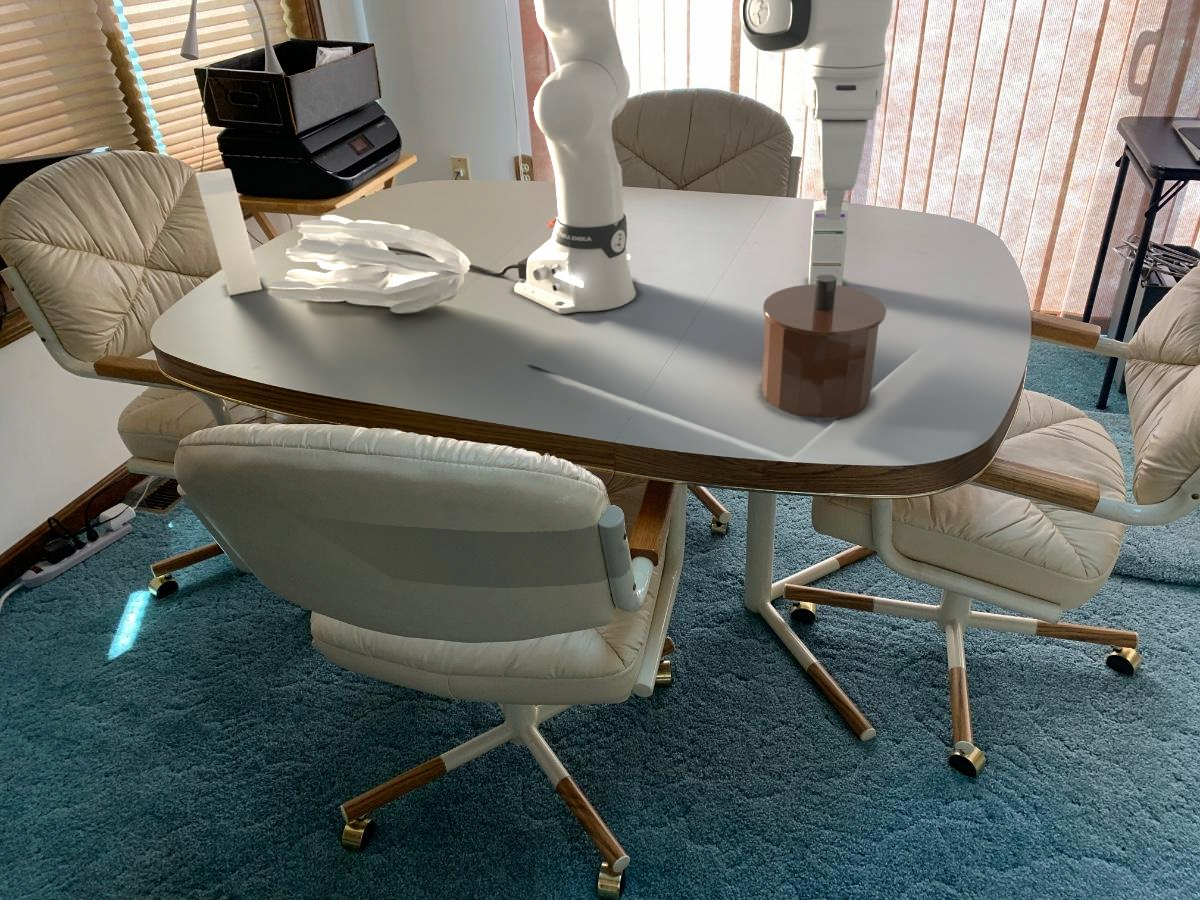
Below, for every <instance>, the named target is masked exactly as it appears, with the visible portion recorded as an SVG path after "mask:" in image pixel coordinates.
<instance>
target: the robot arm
mask: <svg viewBox="0 0 1200 900" xmlns="http://www.w3.org/2000/svg"><path fill="white" fill-rule="evenodd" d="M533 1H534V6H535V13H536V20H537V23H538V25H539V27H540V29H541V30H542V31H543V33H544V35H545V37H546V40H547V43H548V45H549V48H550V51H551V53H552V57H553V60H554V63H555V69H556V70H555V71H553V72H552V73H550V74H549V75H547V77H546V78H545V80H544V81H543V83H542V85H541V86H540V88H539V90H538V92H537V95H536V97H535V100H534V106H533V112H534V120H535V122H536V125H537V126H538V128H539V130H540V132H541V133H542V134H543V135H544V138H545V141H546V142H545V143H546V145H547V148H548V152H549V156H550V159H551V163H552V168H553V173H554V179H555V190H556V191H555V192H556V202H557V215H558V216H556V217H555V218H554V219H551V220H549V221H547V222H546V224H548V225H547V226H546V229H551V228H553V230H552V235H551V238H549V239H548V240H547V241H546V242H544V243H543V244H542V245H541V246H540V247H539V248H538V249H536V250H535V251H533V252H532V253H531V254H530V255H529V256H528V257H526V258H524V259H522V260H520V261H518V262H517V263H511V264H507V265H505V266H504V267H503V268H502V270H500V271H493V270H488V269H486V268H483V267H481V266H478V265H475V264H471V263H470V264H471V265H470V266H469V268H470V270H471V269H472V270H475V271H477V272H480V273H482V274H486V275H489V276H494V277H500V276H504V275H505V274H506V273H507V271H509V270H511V269H517V273H518V279H519V281H518V282H516V284H515V285H514V293H516V294H518V295H520V296H523V297H524V298H526V299H529V300H531V301H533V302H535V303H537V304H539V305H541V306H543V307H545V308H548V309H549V310H552V311H554V312H555V313H558V314H563V315H565V314H573V313H579V312H599V311H600V312H601V311H607V310H612V309H616V308H620V307H622V306H625V305H626V304H628V303H630V302H631V301H633V300H634V298H635V297H636V295H637V292H636V291H637V290H636V288H635V285H634V282H633V280H632V275H631V270H630V264H629V260H630V259H631V254H628V252H627V238H628V223H627V216H626V214H625V212H624V188H623V187H624V185H623V169H622V166H621V164H620V163H619V160H618V157H617V153H616V148H615V144H614V138H613V130H612V129H613V127H612V126H613V121H614V120H615V119H616V118H617V117H618V116H620V114H621V113H622V111H623V110H624V108H625V107H626V104H627V101H628V98H629V94H630V89H631V81H630V75H629V73H628V70H627V68H626V66H625V65H624V61H623V56H622V52H621V49H620V44H619V41H618V37H617V33H616V30H615V26H614V22H613V18H612V14H611V8H610V2H609V0H533ZM893 1H894V0H739V20H740V21H739V22H740V25H741V28H742V31H743V33H744V35H745V37H746V38H747V40H748V41H749V43H751V45H752V46H753V47H755V48H756V49H758V50H760V51H763V52H770V53H782V52H788V51H792V50H801V49H802V50H804V51H805V53H806V60H805V61H806V62H805V71H804V86H803V96H802V98H803V99H802V102H803V105H804V106H806V107H807V108H809V110H810V111H811V112H812V119H813V120H814V121H816V123H817V127H818V131H819V134H818V153H819V164H820V165H819V166H820V182H821V188H822V193H823V195H824V196H825V200H826V208H825V217H826V219H828V220H838V219H839V218H840V217H841V209H842V203H843V201H844V199H845V196H846V195H845V194H846V191H852V190H853V189H854V188H855V185H856V183H857V180H858V177H859V172H860V169H861V168H860V167H861V163H862V157H863V152H864V149H865V142H866V138H867V133H868V126H869V121H871V120H872V121H873V120H874V118H875V117H876V109H877V107H879V106H880V105H881V101H882V93H883V85H884V78H885V70H886V69H885V67H886V62H887V61H886V60H887V57H886V49H885V40H886V39H885V38H886V33H887V30H888V28H889V25H890V22H891V18H892V11H893ZM386 246H387V248H388V250H389V251H391V252H396V253H397V252H398V253H404V254H408V255H413V256H419V257H424V258H430V259H433V258H432V257H431V256H429V255H427V254H425V253H421V252H420V251H416V250H412V249H410V248H409V249H407V248H404V247H403V248H401V247H395V246H389V245H386Z"/></svg>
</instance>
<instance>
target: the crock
mask: <svg viewBox="0 0 1200 900" xmlns="http://www.w3.org/2000/svg"><path fill="white" fill-rule="evenodd" d="M879 326H880V324H879V325H878V326H876V327H875V328H872V329H870V330H868V331H865V332H861V333H857V334H851V335H843V336H817V335H808V334H802V333H797V332H793V331H790V330H787V329H784V328H781V327H779V326H777V325H775V324H774V323H772V322H771V321H769V320H768V319H767V318H766V316H765V315H764V332H763V333H764V334H763V351H762V353H763V354H762V375H761V392H762V394H763V397H764V398H765V401H767V402H768V403H769V404H771V405H772V406H774V407H775V408H777V409H779V410H781V411H784V412H786V413H788V414H792V415H796V416H800V417H805V418H806V417H807V418H823V419H824V418H835V419H834V420H835V421H838V420H842V419H847V418H852V417H853V416H856V415H858V414H860V413H861V412H863V410H865V409H866V408H867V407H868V405H869V403H870V398H871V393H872V391H871V390H872V383H873V375H874V374H873V373H874V367H875V366H874V365H875V358H876V351H877V342H878V334H879ZM836 417H837V418H836Z"/></svg>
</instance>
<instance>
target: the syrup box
mask: <svg viewBox="0 0 1200 900" xmlns="http://www.w3.org/2000/svg"><path fill="white" fill-rule="evenodd" d="M825 208H826V199H823V200H822V199H821V200H814V202H813V206H812V218H811V220H812V221H811V222H812V223H811V236H810V252H809V253H810V254H809V269H808V271H809V272H808V285H813V284H816V277H817V276H819V275H833V276H835V277H836V278H837V281H836V285H838V286H843V281H844V280H843V279H844V270H845V269H844V267H845V258H846V247H847V229H848V214H849V212H848V211H849V210H848V201H847V200H843V203H842V209H841V217H840V218H839V219H838V220H828V219H826V217H825Z"/></svg>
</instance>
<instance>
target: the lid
mask: <svg viewBox="0 0 1200 900" xmlns="http://www.w3.org/2000/svg"><path fill="white" fill-rule="evenodd" d="M836 281H837V278H836V277H835V276H833V275H819V276H817V277H816V284H813V285H809V284H802V285H801V284H800V285H796V286H790V287H786V288H783V289H780V290H777V291H775V292H773V293H772V294H770V295H769V296H768V297H766V299H765V300H764V302H763V305H762V310H763V311H762V312H763V314H764V317H765V316H766V318H767V319H768V320H769V321H771V322H772V323H774V324H775V325H777V326H779V327H781V328H784V329H787V330H790V331H793V332H797V333H802V334H808V335H817V336H843V335H851V334H857V333H861V332H865V331H868V330H870V329H872V328H875V327H876V326H878V325H879V326H880V325H881V324H882V323H883V322H884V320H885V318H886V315H887V307H886V305H885V303H884V302H883V301H882V300H881V299H880V298H878V297H877V296H875V295H873V294H871V293H869V292H867V291H863V290H861V289H858V288H854V287H849V286H846V285H845V286H844V285H842V286H838V285H836Z"/></svg>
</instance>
